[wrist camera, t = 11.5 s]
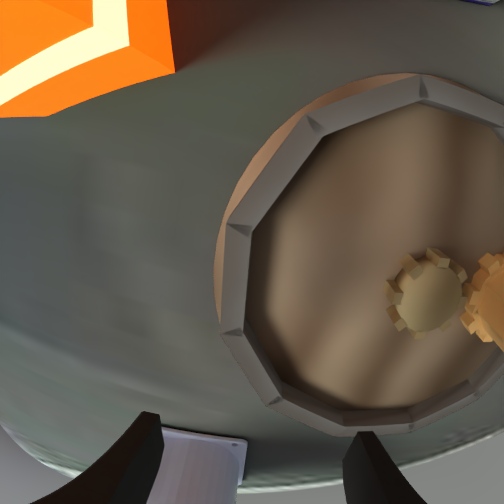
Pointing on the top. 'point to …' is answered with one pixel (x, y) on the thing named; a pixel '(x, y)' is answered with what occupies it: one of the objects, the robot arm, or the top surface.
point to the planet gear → (486, 300)
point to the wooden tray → (366, 256)
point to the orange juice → (78, 51)
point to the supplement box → (483, 1)
